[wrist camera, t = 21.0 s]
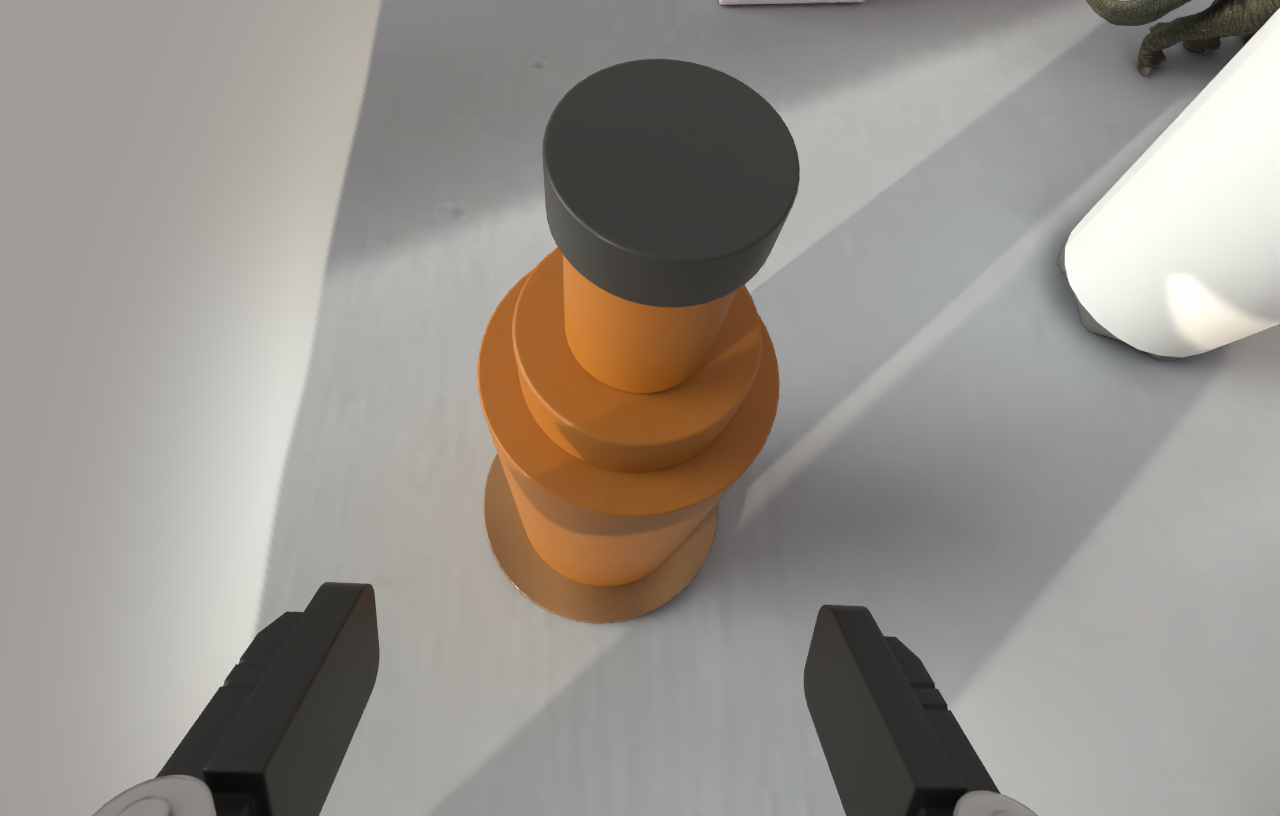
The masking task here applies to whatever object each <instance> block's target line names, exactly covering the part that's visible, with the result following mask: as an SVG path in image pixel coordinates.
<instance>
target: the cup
mask: <svg viewBox="0 0 1280 816" xmlns="http://www.w3.org/2000/svg"><path fill="white" fill-rule="evenodd" d="M1057 264H1058V266H1059V268H1060V269H1061V271H1062V272H1063V273H1064V274H1065V275H1066V276H1067V278H1068V281H1069V284H1070V286H1071V288H1072V289H1073V292H1074V295H1075V298H1076V300H1077V303H1078V306H1079V313H1080V317H1081V322H1082V324H1083V325H1084V326H1085V327H1086V328H1087V329H1088V330H1089V331H1090V332H1093V333H1097V334H1100V335H1103V336H1105V337H1111V338H1113V339H1116V340H1118V341H1121V342H1124V343H1126V344H1129V345H1131V346H1133V347H1135V348H1136V349H1138V350H1141V351H1145V352H1147V353H1148V354H1149V355H1151V356H1152V357H1154V358H1156V359H1157V360H1177V359H1183V358H1187V357H1190V356H1194V355H1197V354H1201V353H1205V352H1207V351H1210V350H1212V349H1215V348H1218V347H1220V346H1223V345H1226V344H1228V343H1231V342H1234V341H1236V340H1239V339H1241V338H1244V337H1247V336H1249V335H1252V334H1254V333H1257V332H1260V331H1262V330H1265V329H1268V328H1270V327H1273V326H1275V325H1278V324H1280V8H1279V9H1278V10H1277V11H1276V12H1275V13H1274V14H1273V15H1272V17H1271V18H1270V19H1269V20H1268V21H1267V22H1266V23H1265V24H1264V25H1263V26H1262V27H1261V28H1260V29H1259V30H1258V32H1257V33H1256V34H1255V35H1254V36H1253V37H1252V38H1251V39H1250V40H1249V41H1248V42H1247V43H1246V44H1245V45H1244V47H1243V48H1242V49H1241V50H1240V51H1239V52H1238V53H1237V54H1236V55H1235V56H1234V57H1233V58H1232V59H1231V60H1230V61H1229V63H1228V64H1227V65H1226V66H1225V67H1224V68H1223V69H1222V70H1221V71H1220V72H1219V73H1218V74H1217V75H1216V76H1215V78H1214V79H1213V80H1212V81H1211V82H1210V83H1209V84H1208V85H1207V86H1206V87H1205V88H1204V89H1203V90H1202V91H1201V92H1200V94H1199V95H1198V96H1197V97H1196V98H1195V99H1194V100H1193V101H1192V102H1191V103H1190V104H1189V105H1188V106H1187V107H1186V109H1185V110H1184V111H1183V112H1182V113H1181V114H1180V115H1179V116H1178V117H1177V118H1176V119H1175V120H1174V121H1173V122H1172V124H1171V125H1170V126H1169V127H1168V128H1167V129H1166V130H1165V131H1164V132H1163V133H1162V134H1161V135H1160V136H1159V137H1158V138H1157V140H1156V141H1155V142H1154V143H1153V144H1152V145H1151V146H1150V147H1149V148H1148V149H1147V150H1146V151H1145V152H1144V153H1143V155H1142V156H1141V157H1140V158H1139V159H1138V160H1137V161H1136V162H1135V163H1134V164H1133V165H1132V166H1131V167H1130V168H1129V170H1128V171H1127V172H1126V173H1125V174H1124V175H1123V176H1122V177H1121V178H1120V179H1119V180H1118V181H1117V182H1116V183H1115V184H1114V186H1113V187H1112V188H1111V189H1110V190H1109V191H1108V192H1107V193H1106V194H1105V195H1104V196H1103V197H1102V198H1101V199H1100V201H1099V202H1098V203H1097V204H1096V205H1095V206H1094V207H1093V208H1092V209H1091V210H1090V211H1089V212H1088V213H1087V215H1086V216H1085V217H1084V218H1083V219H1082V220H1081V221H1080V222H1079V223H1078V225H1077V226H1076V227H1075V228H1074V229H1073V231H1072V232H1071V234H1070V236H1069V238H1068V239H1067V241H1066V242H1065V244H1064V245H1063V247H1062V250H1061V252H1060V255H1059V258H1058V263H1057Z"/></svg>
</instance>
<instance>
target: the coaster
mask: <svg viewBox="0 0 1280 816" xmlns="http://www.w3.org/2000/svg"><path fill="white" fill-rule="evenodd" d="M483 512H484V524H485V529H486V534H487V538H488V541H489V544H490V547H491V549H492V552H493V554H494V556H495V558H496V560H497V562H498V564H499V566H500V568H501V569H502V570H503V572H504V573H505V575H506V576H507V577H508V579H509V580H510V581H511V582H512V584H513V585H514V586H515V587H516V588H517V589H518V590H519V591H520V592H521V593H522V594H523V595H525V596H526V597H527V598H529V599H530V600H531V601H532V602H534V603H535V604H537V605H539V606H540V607H542V608H544V609H545V610H547V611H549V612H551V613H554V614H556V615H559V616H561V617H564V618H568V619H572V620H575V621H580V622H588V623H614V622H620V621H626V620H630V619H633V618H636V617H640V616H643V615H645V614H647V613H649V612H651V611H654V610H656V609H658V608H659V607H661V606H662V605H664V604H666V603H667V602H669V601H670V600H672V599H673V598H674V597H675V596H676V595H678V594H679V593H680V592H681V591H682V590H683V589H684V588H685V587H686V586H687V585H688V584H689V583H690V582H691V581H692V579H693V578H694V577H695V576H696V574H697V573H698V571H699V570H700V568H701V567H702V565H703V563H704V561H705V559H706V557H707V555H708V553H709V551H710V548H711V545H712V543H713V540H714V537H715V532H716V526H717V521H718V502H717V503H716V505H715V506H714V507H713V508H712V509H711V510H710V511H709V513H708V514H707V515H706V516H705V517H704V518H703V519H702V520H701V522H700V523H699V524H698V525H697V526H696V527H695V528H694V530H693V531H692V532H691V533H690V534H689V535H688V536H687V537H686V539H685V540H684V541H683V542H682V543H681V544H680V545H679V547H678V548H677V549H676V550H675V551H674V552H673V553H672V554H671V556H670V557H669V558H668V559H667V560H666V561H665V562H664V563H663V564H662V565H661V566H660V567H658V568H657V569H656V570H655V571H653V572H652V573H650V574H648V575H647V576H645V577H643V578H641V579H638V580H636V581H634V582H630V583H627V584H623V585H617V586H593V585H587V584H583V583H580V582H577V581H574V580H572V579H569V578H567V577H565V576H563V575H562V574H560V573H558V572H557V571H555V570H554V569H553V568H552V567H550V566H549V565H548V564H547V563H546V562H545V561H544V560H543V559H542V558H541V557H540V556H539V554H538V553H537V552H536V550H535V549H534V548H533V546H532V544H531V542H530V540H529V538H528V536H527V534H526V531H525V528H524V526H523V523H522V520H521V517H520V514H519V511H518V509H517V506H516V503H515V500H514V497H513V495H512V492H511V489H510V486H509V483H508V481H507V478H506V475H505V472H504V469H503V467H502V464H501V461H500V458H499V455H498V453H497V454H496V456H495V458H494V460H493V462H492V465H491V468H490V471H489V474H488V476H487V481H486V486H485V491H484V503H483Z"/></svg>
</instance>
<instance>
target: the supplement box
mask: <svg viewBox="0 0 1280 816" xmlns="http://www.w3.org/2000/svg"><path fill="white" fill-rule="evenodd" d="M864 1H865V0H719V4H721V5H737V4H787V3H840V2H864Z"/></svg>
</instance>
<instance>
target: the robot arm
mask: <svg viewBox="0 0 1280 816" xmlns="http://www.w3.org/2000/svg"><path fill="white" fill-rule="evenodd" d="M378 666H379V640H378V629H377V617H376V606H375V595H374V589H373V587H372V585H371V584H360V583H336V582H325V583H324V584H322V585H321V587H320V588H319V589H318V591H317V592H316V594H315V595H314V597H313V599H312V600H311V602H310V603H309V605H308V606H307V608H306V609H305V611H304V612H286V613H284V614H283V615H282V616H280V617H279V618H278V619H276V620H275V621H274V622H272V623H271V624H270V625H268V626H267V627H266V628H265V629H263V630H262V631H261V632H259V633H258V634H257V636H256V637H255V638H254V640H253V641H252V643H251V644H250V646H249V647H248V648H247V650H246V651H245V653H244V654H243V655H242V657H241V658H240V662H239V664H238V665H235V667H234V668H233V670H232V671H231V672H230V674H229V675H228V677H227V678H226V680H225V682H224V686H223V687H220V688H219V689H218V691H217V692H216V694H215V695H214V696H213V698H212V699H211V701H210V702H209V703H208V705H207V706H206V708H205V709H204V711H203V712H202V713H201V715H200V716H199V718H198V719H197V720H196V722H195V723H194V725H193V726H192V727H191V729H190V730H189V732H188V733H187V735H186V736H185V737H184V739H183V740H182V742H181V743H180V744H179V746H178V747H177V749H176V750H175V751H174V753H173V754H172V756H171V757H170V758H169V760H168V762H167V763H166V764H165V766H164V767H163V768H162V770H161V771H160V772H159V774H158V775H157V776H156V777H155V778H154V779H151V780H148V781H145V782H142V783H140V784H137V785H135V786H133V787H131V788H129V789H128V790H125V791H124V792H122V793H121V794H119V795H117V796H116V797H114V798H113V799H111V800H110V801H109V802H107V803H106V804H105V805H103V806H102V807H101V808H100V809H99V810H98V811H97V812H96V813H94V814H93V815H92V816H319V814H320V812H321V810H322V807H323V805H324V803H325V800H326V798H327V796H328V793H329V791H330V789H331V786H332V784H333V782H334V779H335V777H336V775H337V772H338V770H339V767H340V765H341V763H342V760H343V758H344V756H345V753H346V751H347V749H348V746H349V744H350V742H351V739H352V737H353V735H354V732H355V730H356V728H357V725H358V723H359V721H360V718H361V716H362V714H363V711H364V709H365V707H366V704H367V702H368V700H369V697H370V695H371V693H372V690H373V688H374V684H375V681H376V677H377V672H378ZM804 691H805V698H806V702H807V705H808V708H809V711H810V714H811V717H812V720H813V723H814V725H815V728H816V731H817V734H818V737H819V740H820V742H821V745H822V748H823V751H824V754H825V757H826V760H827V762H828V765H829V768H830V771H831V774H832V777H833V779H834V782H835V785H836V788H837V791H838V794H839V796H840V799H841V802H842V805H843V808H844V811H845V813H846V816H1037V815H1036V814H1035V813H1034V812H1033V811H1031V810H1030V809H1029V808H1027V807H1026V806H1024V805H1023V804H1021V803H1019V802H1018V801H1016V800H1014V799H1012V798H1010V797H1007V796H1005V795H1002V794H1001V793H1000V792H999V790H998V789H997V787H996V785H995V784H994V782H993V780H992V779H991V777H990V775H989V774H988V772H987V770H986V769H985V767H984V765H983V764H982V762H981V760H980V759H979V757H978V755H977V754H976V752H975V750H974V749H973V747H972V745H971V744H970V742H969V740H968V739H967V737H966V735H965V734H964V732H963V730H962V729H961V727H960V725H959V724H958V722H957V720H956V719H955V717H954V715H953V714H952V712H951V711H949V710H948V709H947V704H946V702H945V700H944V699H943V697H942V695H941V694H940V692H939V690H938V689H935V684H934V682H933V680H932V679H931V677H930V675H929V674H928V672H927V670H926V669H925V667H924V665H923V664H922V662H921V660H920V659H919V658H918V657H917V656H916V655H915V654H914V653H913V652H911V651H910V650H909V649H908V648H907V647H906V646H905V645H904V644H903V643H902V642H901V641H899V640H898V639H897V638H896V637H884V636H883V634H882V633H881V631H880V629H879V627H878V625H877V624H876V622H875V620H874V618H873V616H872V615H871V613H870V611H869V610H868V609H867V608H866V607H863V606H842V605H823V606H822V607H821V608H820V610H819V613H818V617H817V621H816V625H815V629H814V633H813V637H812V641H811V645H810V649H809V653H808V657H807V661H806V665H805V670H804Z"/></svg>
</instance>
